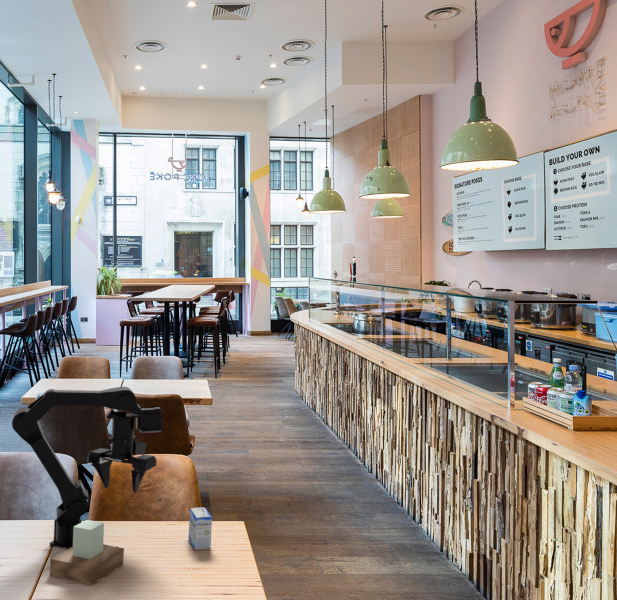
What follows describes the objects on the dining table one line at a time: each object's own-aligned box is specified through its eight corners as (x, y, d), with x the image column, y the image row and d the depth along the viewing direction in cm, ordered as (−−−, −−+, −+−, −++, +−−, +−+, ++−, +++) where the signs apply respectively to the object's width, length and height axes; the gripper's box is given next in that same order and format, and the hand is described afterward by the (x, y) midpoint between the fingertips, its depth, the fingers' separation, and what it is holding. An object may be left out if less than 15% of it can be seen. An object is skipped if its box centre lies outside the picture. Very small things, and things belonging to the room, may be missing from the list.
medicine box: (188, 539, 175) (189, 508, 175) (204, 537, 177) (205, 506, 177) (194, 550, 168) (195, 518, 168) (211, 548, 170) (212, 516, 169)
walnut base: (50, 575, 150) (50, 558, 150) (83, 555, 162) (83, 540, 161) (92, 584, 146) (93, 567, 146) (123, 564, 158) (123, 548, 158)
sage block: (72, 555, 152) (73, 526, 152) (86, 547, 157) (86, 519, 157) (90, 559, 151) (91, 530, 151) (103, 551, 155) (104, 522, 155)
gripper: (168, 431, 178) (166, 486, 178) (112, 424, 184) (110, 477, 185) (145, 440, 168) (143, 498, 168) (87, 432, 174) (85, 488, 174)
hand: (121, 490), depth 174 cm, fingers open, 9 cm apart
